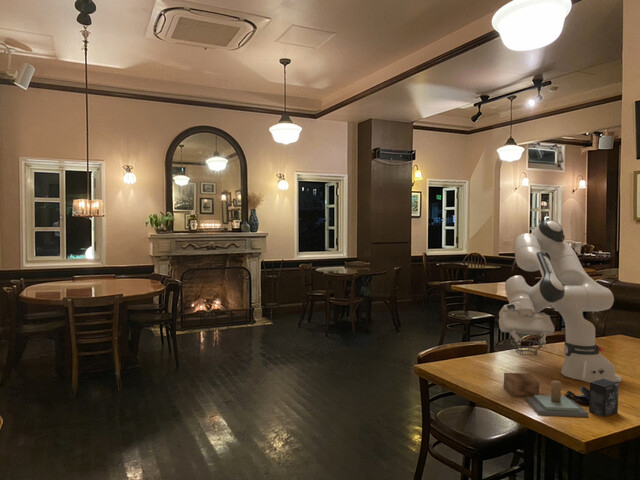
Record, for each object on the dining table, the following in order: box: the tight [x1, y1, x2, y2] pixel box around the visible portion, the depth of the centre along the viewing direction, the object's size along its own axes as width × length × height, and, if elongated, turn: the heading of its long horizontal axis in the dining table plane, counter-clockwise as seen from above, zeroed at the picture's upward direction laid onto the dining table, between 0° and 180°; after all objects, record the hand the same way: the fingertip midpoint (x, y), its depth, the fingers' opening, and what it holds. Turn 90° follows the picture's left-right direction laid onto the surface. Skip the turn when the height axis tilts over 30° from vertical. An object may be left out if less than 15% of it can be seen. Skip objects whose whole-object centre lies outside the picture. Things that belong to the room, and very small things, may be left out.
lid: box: [534, 379, 579, 411], centre depth 162 cm, size 11×11×8 cm
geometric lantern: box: [509, 311, 543, 356], centre depth 233 cm, size 16×16×35 cm
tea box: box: [502, 372, 540, 398], centre depth 178 cm, size 10×10×6 cm
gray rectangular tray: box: [525, 397, 589, 418], centre depth 162 cm, size 16×13×2 cm
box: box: [588, 379, 620, 418], centre depth 159 cm, size 8×6×11 cm
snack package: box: [563, 385, 590, 404], centre depth 169 cm, size 12×6×12 cm
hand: (530, 342), depth 174 cm, fingers open, 8 cm apart
